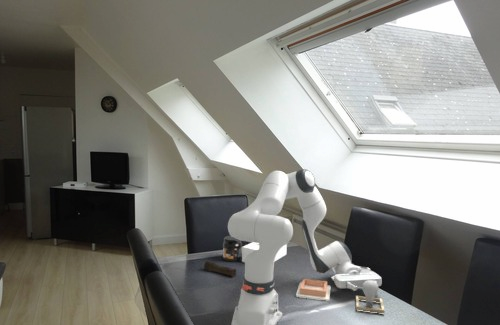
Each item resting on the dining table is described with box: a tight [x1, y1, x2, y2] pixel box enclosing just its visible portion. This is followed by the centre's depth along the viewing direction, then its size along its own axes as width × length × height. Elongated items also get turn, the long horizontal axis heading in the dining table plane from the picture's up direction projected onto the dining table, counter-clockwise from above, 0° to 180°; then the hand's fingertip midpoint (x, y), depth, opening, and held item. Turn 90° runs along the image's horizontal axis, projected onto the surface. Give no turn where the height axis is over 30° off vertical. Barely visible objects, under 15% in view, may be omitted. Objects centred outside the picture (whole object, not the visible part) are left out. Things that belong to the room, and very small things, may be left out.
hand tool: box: [203, 260, 237, 278], centre depth 177 cm, size 19×4×5 cm, turn 56°
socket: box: [295, 278, 332, 302], centre depth 156 cm, size 14×14×4 cm
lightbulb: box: [361, 280, 379, 308], centre depth 143 cm, size 6×6×11 cm
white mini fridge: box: [241, 242, 288, 263], centre depth 199 cm, size 14×25×11 cm, turn 147°
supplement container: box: [222, 235, 243, 262], centre depth 197 cm, size 10×10×12 cm
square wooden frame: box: [355, 295, 386, 314], centre depth 143 cm, size 10×10×2 cm
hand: (366, 288), depth 146 cm, fingers open, 8 cm apart
